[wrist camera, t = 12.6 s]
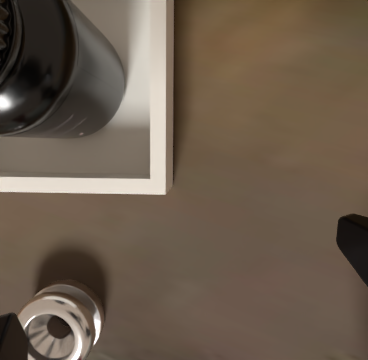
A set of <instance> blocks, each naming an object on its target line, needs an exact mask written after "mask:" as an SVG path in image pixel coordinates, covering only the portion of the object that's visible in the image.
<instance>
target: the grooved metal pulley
mask: <svg viewBox="0 0 368 360" xmlns="http://www.w3.org/2000/svg"><path fill="white" fill-rule="evenodd" d="M57 316H59V317H61V318H62V319H64V320H65V321H66V322H67V323H68V324H69V325H70V327H67V326H64V325H62V324H61V323H60V322H59V320H58V318H57ZM17 317H18V319H19V321H20V323H21V325H22V327H23V329H24V331H25V333H26V336H27V340H28V360H85V359H86V358H87V357H88V355H89V353H90V352H91V350H92V348H93V345H94V344H95V343H96V341H97V339H98V338H99V336H100V334H101V332H102V330H103V327H104V322H105V313H104V308H103V305H102V303H101V301H100V299H99V297H98V296H97V294H96V293H95V292H94V291H93V290H92V289H91V288H89V287H88V286H86V285H85V284H83V283H80V282H78V281H74V280H59V281H55V282H53V283H50V284H49V285H47V286H46V287H44V288H43V289H42V290H41V291H40V292H38V293H37V294H36V295H35V296H34V297H33V298H32V299H30V300H29V301H28V302H27V303H26V304H25V305H24V306H23V307H22V308H21V309H20V311H19V312H18V314H17Z"/></svg>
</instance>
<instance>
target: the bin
mask: <svg viewBox="0 0 368 360" xmlns="http://www.w3.org/2000/svg"><path fill="white" fill-rule="evenodd" d="M71 1H72V2H73V3H74V4H75V5H76V6H77V7H78V8H79V10H80V11H81V12H82V13H83V14H84V15H85V16H86V17H87V18H88V19H89V20H90V21H91V22H92V23H93V24H94V25H95V26H96V27H97V28H98V29H99V30H100V31H101V33H102V34H103V35H104V36H105V37H106V38H107V39H108V40H109V42H110V43H111V44H112V45H113V47H114V48H115V50H116V52H117V53H118V55H119V57H120V60H121V63H122V66H123V70H124V77H125V88H124V95H123V98H122V102H121V104H120V107H119V109H118V111H117V112H116V114H115V115H114V117H113V118H112V119H111V120H110V122H109V123H108V124H107V125H105V126H104V127H103V128H102V129H100V130H99V131H97V132H95V133H93V134H91V135H88V136H85V137H80V138H69V139H58V138H28V137H0V192H48V193H107V194H166V193H167V192H168V191H169V190H170V189H171V188H172V187H173V75H174V0H71Z"/></svg>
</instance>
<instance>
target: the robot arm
mask: <svg viewBox="0 0 368 360" xmlns="http://www.w3.org/2000/svg"><path fill="white" fill-rule="evenodd" d="M336 241H337V245H338V247H339V249H340V250H341V252H342V253H343V254H344V256H345V257H346V258H347V260H348V261H349V262H350V264H351V265H352V266H353V268H354V269H355V270H356V272H357V273H358V275H359V276H360V277H361V279H362V280H363V281H364V283H365V284H366V285H367V286H368V217H364V216H361V215H357V214H349V215H346V216H342V217H340V218H339V220H338V227H337V237H336ZM0 360H28V340H27V336H26V333H25V331H24V329H23V327H22V325H21V323H20V321H19V319H18V317H17V315H16V314H15V313H8V314H4V315H1V316H0Z"/></svg>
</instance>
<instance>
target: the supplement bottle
mask: <svg viewBox="0 0 368 360" xmlns="http://www.w3.org/2000/svg"><path fill="white" fill-rule="evenodd" d="M124 88H125V77H124V70H123V66H122V63H121V60H120V57H119V55H118V53H117V52H116V50H115V48H114V47H113V45H112V44H111V43H110V42H109V40H108V39H107V38H106V37H105V36H104V35H103V34H102V33H101V31H100V30H99V29H98V28H97V27H96V26H95V25H94V24H93V23H92V22H91V21H90V20H89V19H88V18H87V17H86V16H85V15H84V14H83V13H82V12H81V11H80V10H79V8H78V7H77V6H76V5H75V4H74V3H73V2H72V1H71V0H0V137H28V138H58V139H69V138H80V137H85V136H88V135H91V134H93V133H95V132H97V131H99V130H100V129H102V128H103V127H104V126H105V125H107V124H108V123H109V122H110V120H111V119H112V118H113V117H114V115H115V114H116V112H117V111H118V109H119V107H120V104H121V102H122V98H123V95H124Z"/></svg>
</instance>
